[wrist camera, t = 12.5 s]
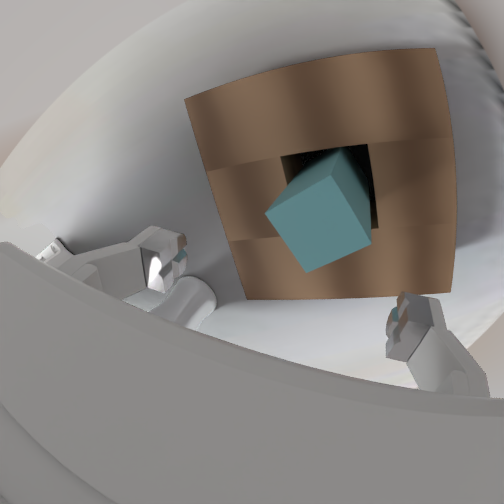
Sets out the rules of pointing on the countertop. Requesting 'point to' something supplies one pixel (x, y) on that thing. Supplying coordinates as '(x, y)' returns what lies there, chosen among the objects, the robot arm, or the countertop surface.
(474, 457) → the robot arm
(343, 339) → the countertop surface
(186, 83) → the countertop surface
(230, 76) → the countertop surface
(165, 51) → the countertop surface
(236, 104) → the socket block
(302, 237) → the peg
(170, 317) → the beer glass
